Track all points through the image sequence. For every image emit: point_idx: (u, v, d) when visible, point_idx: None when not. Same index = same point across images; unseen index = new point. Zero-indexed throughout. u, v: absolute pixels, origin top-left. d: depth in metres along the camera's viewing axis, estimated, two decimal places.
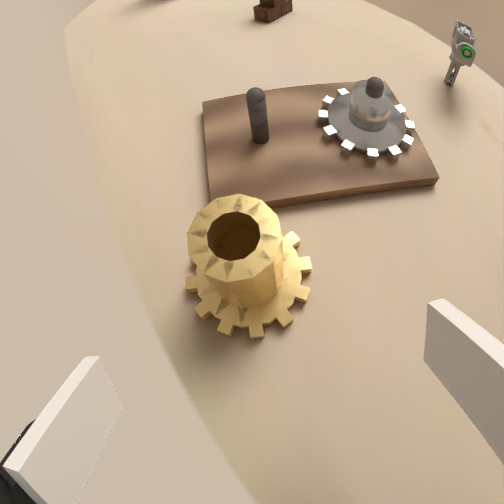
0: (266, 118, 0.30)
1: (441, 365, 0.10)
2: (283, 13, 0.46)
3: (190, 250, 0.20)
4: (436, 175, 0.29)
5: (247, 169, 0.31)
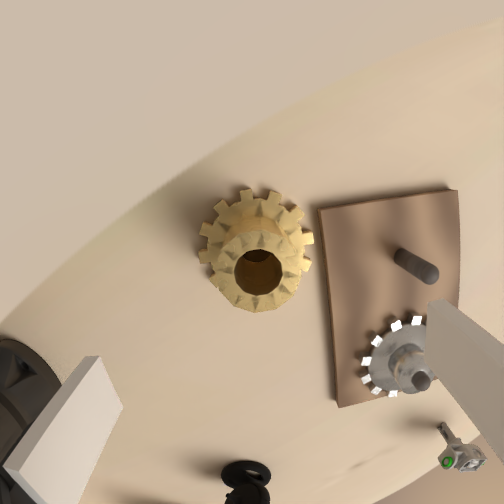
0: None
1: (441, 365, 0.10)
2: None
3: (243, 234, 0.22)
4: (340, 406, 0.35)
5: (365, 244, 0.30)
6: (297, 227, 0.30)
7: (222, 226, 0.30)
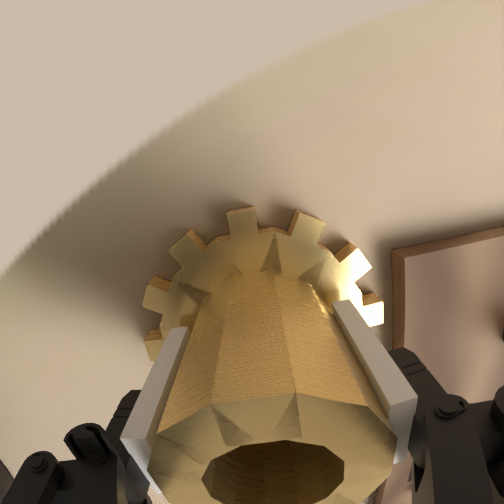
0: None
1: None
2: None
3: (226, 407, 0.06)
4: None
5: (469, 318, 0.13)
6: (354, 293, 0.13)
7: (189, 292, 0.13)
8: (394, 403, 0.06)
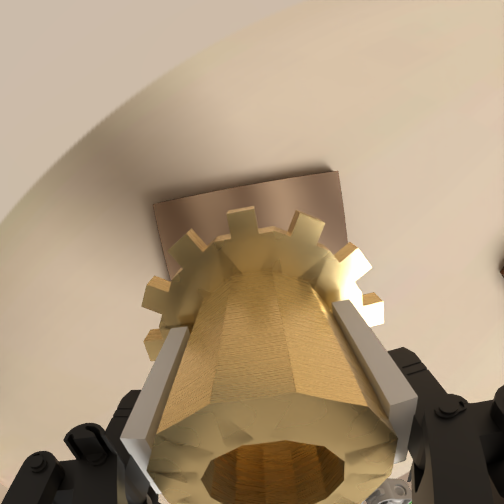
0: None
1: None
2: None
3: (226, 407, 0.05)
4: None
5: (207, 241, 0.27)
6: (354, 293, 0.13)
7: (189, 292, 0.13)
8: (394, 403, 0.06)
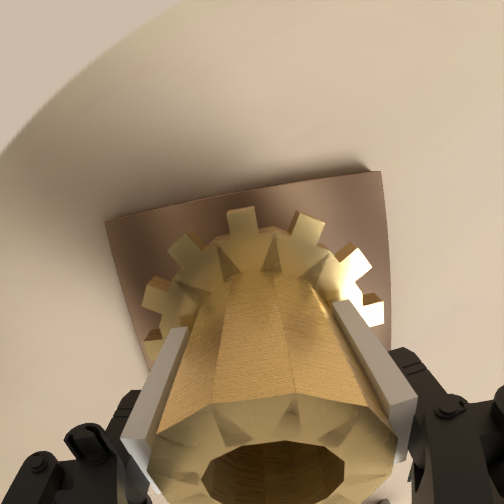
0: None
1: None
2: None
3: (226, 407, 0.05)
4: None
5: None
6: (354, 293, 0.13)
7: (189, 292, 0.13)
8: (394, 403, 0.06)
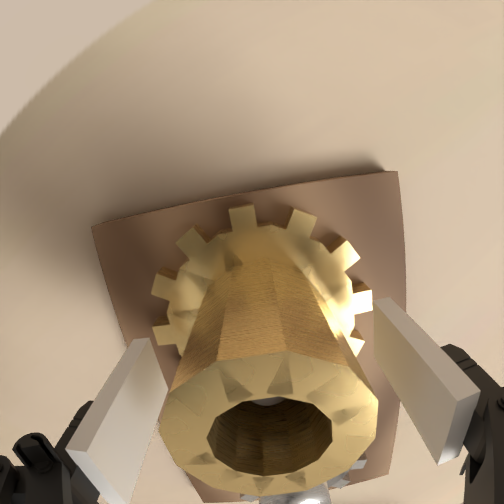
0: None
1: (385, 361, 0.11)
2: None
3: (230, 364, 0.07)
4: (205, 501, 0.21)
5: None
6: (344, 282, 0.15)
7: (195, 280, 0.15)
8: (460, 398, 0.06)
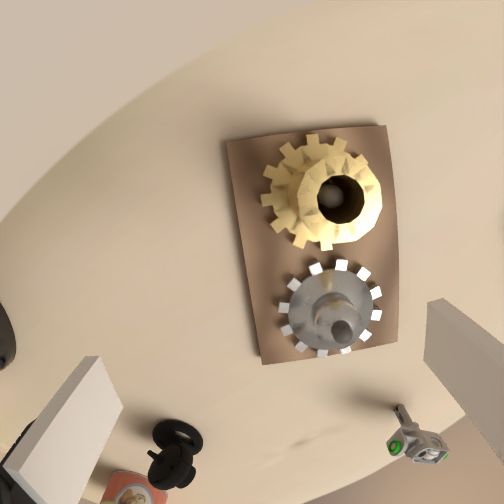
0: (321, 203, 0.27)
1: (441, 365, 0.10)
2: None
3: (328, 159, 0.21)
4: (264, 362, 0.35)
5: None
6: None
7: (287, 168, 0.28)
8: None
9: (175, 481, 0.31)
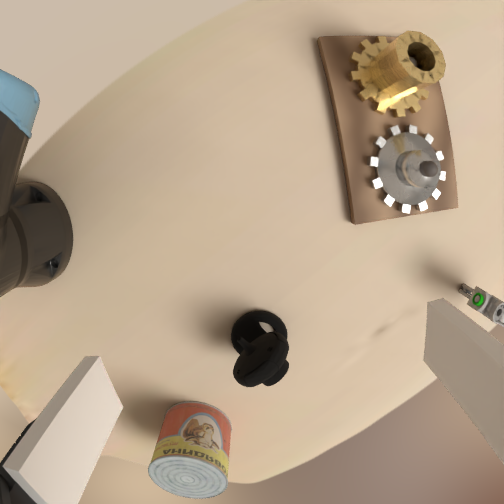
0: None
1: (441, 365, 0.10)
2: None
3: (410, 32, 0.24)
4: (356, 221, 0.37)
5: None
6: None
7: (368, 55, 0.31)
8: None
9: (275, 365, 0.33)
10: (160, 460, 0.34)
